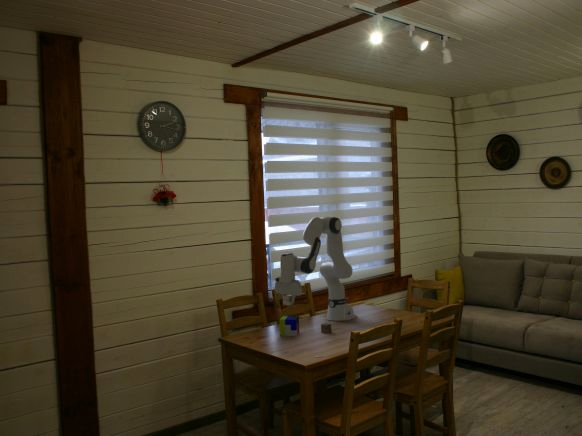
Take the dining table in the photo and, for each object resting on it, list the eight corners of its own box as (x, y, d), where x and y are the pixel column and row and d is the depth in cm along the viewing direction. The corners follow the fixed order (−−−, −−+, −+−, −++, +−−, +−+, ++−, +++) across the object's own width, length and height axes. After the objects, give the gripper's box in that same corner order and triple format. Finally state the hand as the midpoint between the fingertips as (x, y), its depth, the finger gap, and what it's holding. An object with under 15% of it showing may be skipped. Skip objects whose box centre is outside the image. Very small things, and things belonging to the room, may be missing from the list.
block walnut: (325, 330, 324) (325, 322, 324) (331, 331, 321) (331, 323, 321) (321, 332, 321) (320, 324, 321) (326, 333, 318) (326, 325, 318)
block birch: (288, 303, 322) (288, 294, 322) (294, 304, 319) (294, 295, 319) (282, 304, 319) (282, 295, 319) (288, 305, 315) (288, 296, 315)
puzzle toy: (296, 336, 313) (295, 319, 313) (280, 335, 315) (279, 319, 315) (299, 332, 323) (298, 316, 323) (283, 331, 325) (283, 315, 325)
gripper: (303, 279, 314) (304, 302, 314) (280, 277, 328) (280, 299, 328) (296, 280, 309) (297, 304, 309) (272, 278, 323) (273, 300, 324)
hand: (288, 301), depth 319 cm, fingers closed on block birch, 5 cm apart
